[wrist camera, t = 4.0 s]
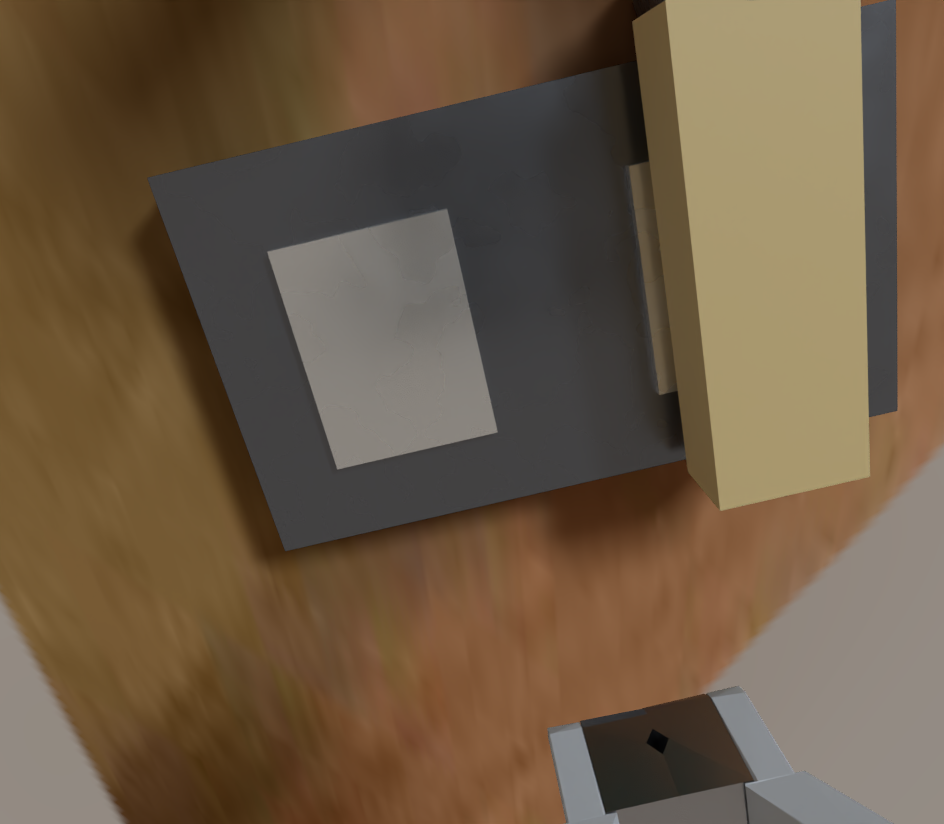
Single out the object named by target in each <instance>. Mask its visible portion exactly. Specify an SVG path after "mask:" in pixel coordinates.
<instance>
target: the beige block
mask: <svg viewBox="0 0 944 824" xmlns="http://www.w3.org/2000/svg"><path fill="white" fill-rule="evenodd" d="M632 24H633V32H634V40H635V49H636V57H637V65H638V73H639V81H640V89H641V97H642V105H643V113H644V121H645V129H646V138H647V146H648V154H649V162H650V170H651V178H652V186H653V194H654V202H655V210H656V218H657V227H658V235H659V243H660V251H661V259H662V267H663V275H664V283H665V291H666V299H667V307H668V316H669V324H670V332H671V340H672V348H673V356H674V364H675V372H676V380H677V388H678V397H679V405H680V413H681V421H682V429H683V437H684V445H685V453H686V461H687V469H688V473H689V474H690V475H691V476H692V478H693V479H694V480H695V481H696V482H697V484H698V485H699V486H700V487H701V488H702V490H703V491H704V492H705V493H706V494H707V496H708V497H709V498H710V499H711V500H712V502H713V503H714V504H715V505H716V506H717V508H718V509H719V510H720V511H722V510H726V509H730V508H735V507H739V506H744V505H748V504H752V503H757V502H761V501H765V500H770V499H774V498H779V497H783V496H787V495H792V494H796V493H801V492H805V491H809V490H814V489H818V488H822V487H827V486H831V485H836V484H840V483H844V482H849V481H853V480H858V479H862V478H866V477H870V455H869V405H868V355H867V304H866V254H865V204H864V153H863V103H862V53H861V2H860V0H665V1H663V2H662V3H660V4H658V5H657V6H655V7H654V8H652V9H651V10H649V11H648V12H646V13H645V14H643V15H641V16H640V17H638V18H637V19H635V20H634V21H632Z"/></svg>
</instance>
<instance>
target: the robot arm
mask: <svg viewBox="0 0 944 824" xmlns="http://www.w3.org/2000/svg"><path fill="white" fill-rule="evenodd" d="M580 723H581V725H580ZM580 723H579V722H577V723H572V724H566V725H561V726H556V727H551V728H548V739H549V743H550V748H551V753H552V757H553V762H554V767H555V772H556V776H557V781H558V786H559V790H560V795H561V800H562V804H563V809H564V814H565V819H566V823H565V824H894V823H892V822H890V821H889V820H887V819H885V818H884V817H882V816H880V815H879V814H877V813H875V812H873V811H872V810H870V809H869V808H867V807H865V806H863V805H862V804H860V803H858V802H857V801H855V800H853V799H852V798H850V797H848V796H847V795H845V794H843V793H842V792H840V791H838V790H836V789H835V788H833V787H831V786H830V785H828V784H826V783H825V782H823V781H821V780H819V779H818V778H816V777H815V776H813V775H811V774H809V773H808V772H806V771H802V772H796V773H795V772H794V771H793V769H792V768H791V766H790V764H789V763H788V761H787V759H786V758H785V756H784V754H783V753H782V752H781V750H780V748H779V746H778V745H777V743H776V741H775V740H774V738H773V736H772V735H771V733H770V732H769V730H768V728H767V727H766V725H765V723H764V722H763V720H762V718H761V717H760V715H759V713H758V712H757V710H756V708H755V707H754V705H753V704H752V702H751V700H750V699H749V697H748V695H747V694H746V692H745V690H743V689H742V688H741V687H740V686H735V687H731V688H727V689H723V690H718V691H714V692H710V693H707V694H701V695H697V696H693V697H688V698H684V699H680V700H676V701H671V702H667V703H663V704H658V705H654V706H650V707H646V708H642V709H639V710H634V711H629V712H624V713H619V714H614V715H609V716H603V717H598V718H593V719H588V720H583V721H580Z"/></svg>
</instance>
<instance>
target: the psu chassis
mask: <svg viewBox="0 0 944 824" xmlns="http://www.w3.org/2000/svg"><path fill="white" fill-rule="evenodd" d="M663 1H665V0H633V6H634V9H635V12H636V14H637V16H638V17H640V16H641V15H643V14H645V13H646V12H648V11H649V10H651V9H652V8H654V7H655V6H657V5H658V4H660V3H662V2H663ZM861 53H862V103H863V153H864V204H865V254H866V304H867V355H868V405H869V417H872V416H876V415H881V414H885V413H889V412H894V411H897V182H896V0H888V1H884V2H879V3H875V4H871V5H867V6H863V7H861ZM147 179H148V181H149V184H150V187H151V189H152V192H153V195H154V197H155V200H156V203H157V206H158V208H159V211H160V214H161V216H162V219H163V222H164V225H165V227H166V230H167V233H168V235H169V238H170V241H171V243H172V246H173V249H174V252H175V254H176V257H177V260H178V262H179V265H180V268H181V271H182V273H183V276H184V279H185V281H186V284H187V287H188V289H189V292H190V295H191V298H192V300H193V303H194V306H195V308H196V311H197V314H198V317H199V319H200V322H201V325H202V327H203V330H204V333H205V335H206V338H207V341H208V344H209V346H210V349H211V352H212V354H213V357H214V360H215V363H216V365H217V368H218V371H219V373H220V376H221V379H222V381H223V384H224V387H225V390H226V392H227V395H228V398H229V400H230V403H231V406H232V409H233V411H234V414H235V417H236V419H237V422H238V425H239V427H240V430H241V433H242V436H243V438H244V441H245V444H246V446H247V449H248V452H249V455H250V457H251V460H252V463H253V465H254V468H255V471H256V473H257V476H258V479H259V482H260V484H261V487H262V490H263V492H264V495H265V498H266V501H267V503H268V506H269V509H270V511H271V514H272V517H273V519H274V522H275V525H276V528H277V530H278V533H279V536H280V538H281V541H282V544H283V546H284V549H285V551H288V550H293V549H297V548H301V547H306V546H310V545H315V544H319V543H323V542H328V541H332V540H336V539H341V538H345V537H349V536H354V535H358V534H362V533H367V532H371V531H375V530H380V529H384V528H389V527H393V526H397V525H402V524H406V523H410V522H415V521H419V520H423V519H428V518H432V517H436V516H441V515H445V514H450V513H454V512H458V511H463V510H467V509H471V508H476V507H480V506H484V505H489V504H493V503H497V502H502V501H506V500H510V499H515V498H519V497H524V496H528V495H532V494H537V493H541V492H545V491H550V490H554V489H558V488H563V487H567V486H571V485H576V484H580V483H584V482H589V481H593V480H598V479H602V478H606V477H611V476H615V475H619V474H624V473H628V472H632V471H637V470H641V469H645V468H650V467H654V466H659V465H663V464H667V463H672V462H676V461H680V460H685V459H686V453H685V445H684V437H683V429H682V421H681V413H680V405H679V397H678V388H677V380H676V372H675V364H674V356H673V348H672V340H671V332H670V324H669V316H668V307H667V299H666V291H665V283H664V275H663V267H662V259H661V251H660V243H659V235H658V227H657V218H656V210H655V202H654V194H653V186H652V178H651V170H650V162H649V154H648V146H647V138H646V129H645V121H644V113H643V105H642V97H641V89H640V81H639V73H638V65H637V61H633V62H629V63H625V64H621V65H616V66H612V67H608V68H604V69H600V70H595V71H591V72H587V73H583V74H579V75H575V76H570V77H566V78H562V79H558V80H554V81H550V82H545V83H541V84H537V85H533V86H529V87H524V88H520V89H516V90H512V91H508V92H504V93H499V94H495V95H491V96H487V97H483V98H479V99H474V100H470V101H466V102H462V103H458V104H453V105H449V106H445V107H441V108H437V109H433V110H428V111H424V112H420V113H416V114H412V115H408V116H403V117H399V118H395V119H391V120H387V121H382V122H378V123H374V124H370V125H366V126H362V127H357V128H353V129H349V130H345V131H341V132H337V133H332V134H328V135H324V136H320V137H316V138H311V139H307V140H303V141H299V142H295V143H291V144H286V145H282V146H278V147H274V148H270V149H266V150H261V151H257V152H253V153H249V154H245V155H240V156H236V157H232V158H228V159H224V160H220V161H215V162H211V163H207V164H203V165H199V166H195V167H190V168H186V169H182V170H178V171H174V172H169V173H165V174H161V175H157V176H153V177H149V178H147Z"/></svg>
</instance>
